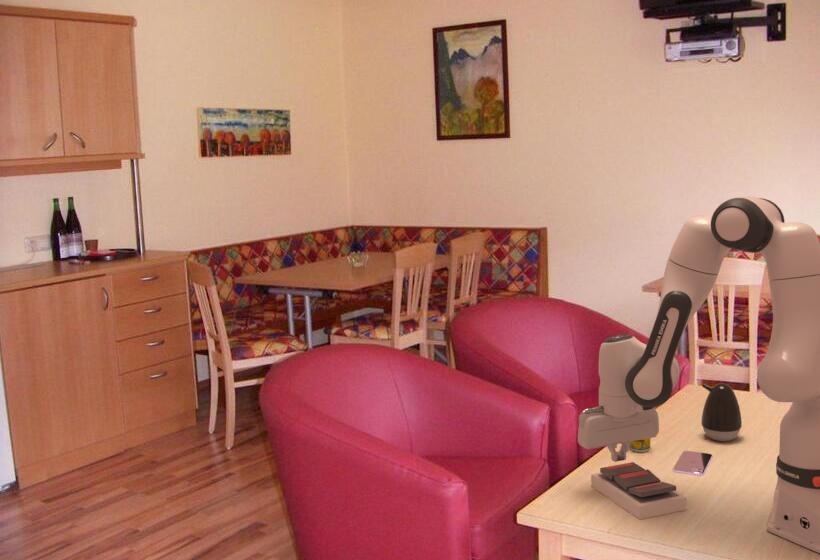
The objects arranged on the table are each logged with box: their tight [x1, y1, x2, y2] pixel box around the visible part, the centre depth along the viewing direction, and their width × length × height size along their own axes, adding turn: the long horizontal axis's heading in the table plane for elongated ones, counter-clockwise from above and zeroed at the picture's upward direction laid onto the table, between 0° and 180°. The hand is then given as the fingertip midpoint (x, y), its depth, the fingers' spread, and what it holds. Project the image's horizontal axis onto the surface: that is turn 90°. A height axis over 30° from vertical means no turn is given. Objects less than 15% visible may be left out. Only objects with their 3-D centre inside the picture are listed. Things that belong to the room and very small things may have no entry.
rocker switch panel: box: [590, 472, 687, 520], centre depth 208 cm, size 20×12×3 cm, turn 20°
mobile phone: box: [671, 450, 714, 477], centre depth 227 cm, size 8×1×15 cm
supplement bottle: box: [629, 438, 651, 453], centre depth 237 cm, size 5×5×10 cm
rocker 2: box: [614, 468, 662, 491], centre depth 207 cm, size 5×9×1 cm, turn 110°
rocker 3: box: [629, 481, 677, 497], centre depth 202 cm, size 5×9×1 cm, turn 109°
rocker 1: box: [599, 461, 646, 480], centre depth 213 cm, size 5×9×1 cm, turn 110°
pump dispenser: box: [700, 382, 743, 442], centre depth 243 cm, size 10×10×15 cm
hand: (618, 460), depth 214 cm, fingers closed
